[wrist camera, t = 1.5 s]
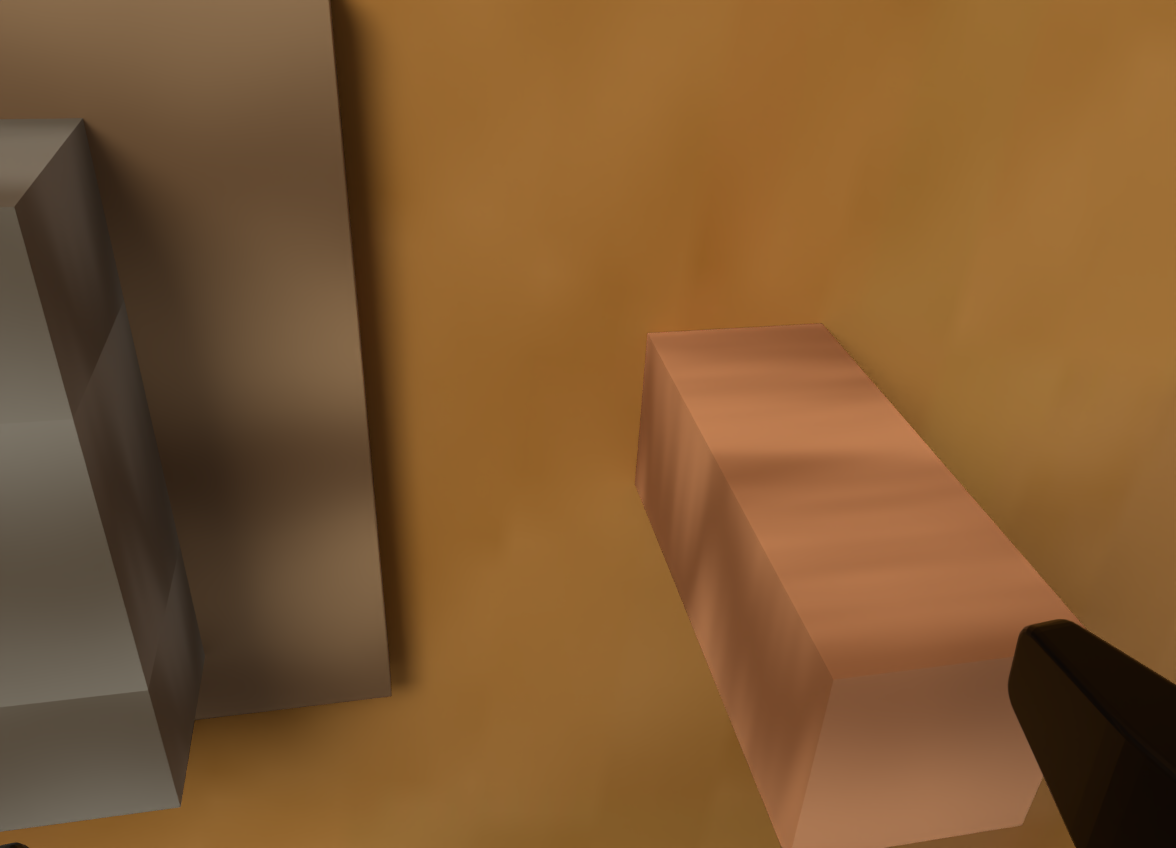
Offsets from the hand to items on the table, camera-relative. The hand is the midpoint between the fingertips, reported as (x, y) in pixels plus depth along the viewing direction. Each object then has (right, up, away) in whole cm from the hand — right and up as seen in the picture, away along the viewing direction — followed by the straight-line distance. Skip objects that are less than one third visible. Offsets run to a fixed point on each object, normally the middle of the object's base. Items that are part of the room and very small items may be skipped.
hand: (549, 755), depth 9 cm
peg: (+3, +3, +14) cm, 15 cm away
